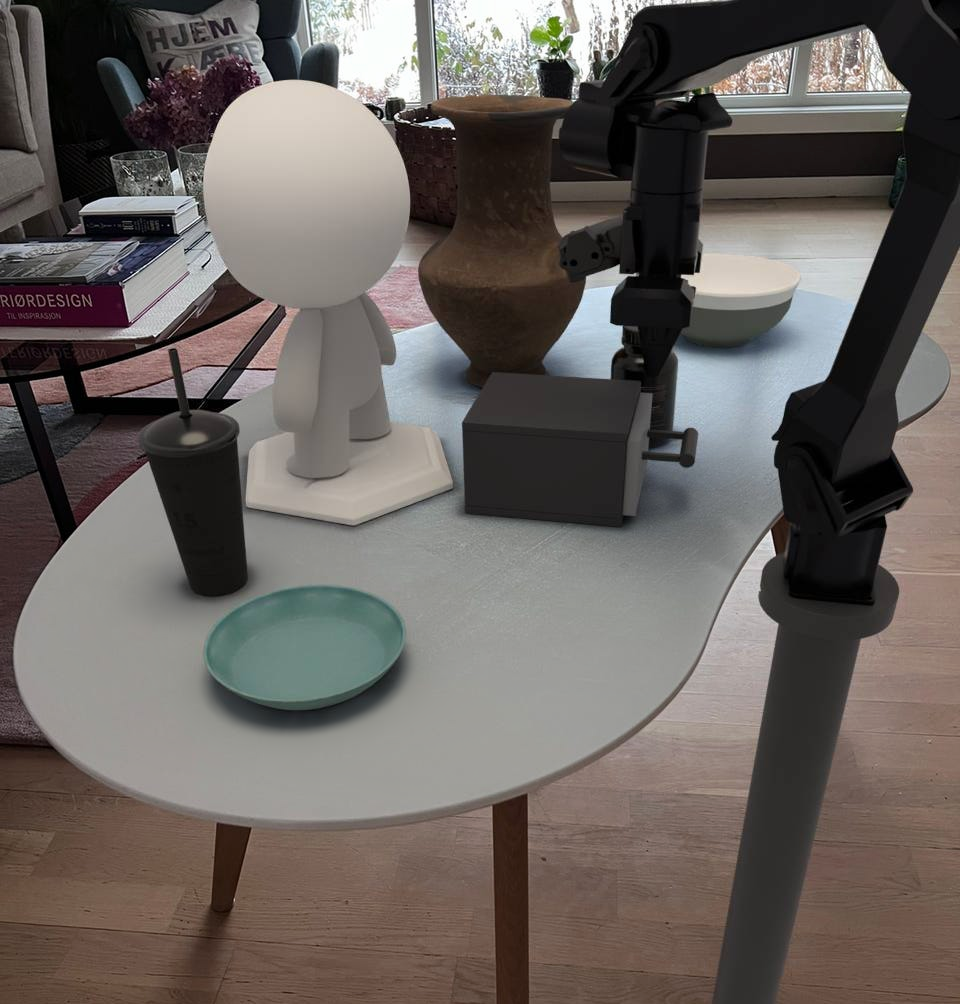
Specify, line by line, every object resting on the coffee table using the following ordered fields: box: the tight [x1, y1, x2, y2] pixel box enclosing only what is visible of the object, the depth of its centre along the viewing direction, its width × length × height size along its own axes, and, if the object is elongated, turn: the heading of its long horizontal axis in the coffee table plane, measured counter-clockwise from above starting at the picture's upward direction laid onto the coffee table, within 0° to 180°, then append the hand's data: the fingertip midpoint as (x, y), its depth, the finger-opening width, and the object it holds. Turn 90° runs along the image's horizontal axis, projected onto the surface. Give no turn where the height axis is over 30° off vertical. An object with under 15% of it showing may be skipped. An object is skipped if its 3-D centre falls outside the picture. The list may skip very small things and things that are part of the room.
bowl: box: [680, 253, 802, 348], centre depth 132 cm, size 19×19×8 cm
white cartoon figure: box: [202, 79, 454, 526], centre depth 93 cm, size 20×23×35 cm
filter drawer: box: [622, 393, 699, 517], centre depth 96 cm, size 18×11×7 cm, turn 77°
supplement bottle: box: [610, 326, 679, 449], centre depth 105 cm, size 7×7×12 cm
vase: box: [417, 93, 587, 388], centre depth 116 cm, size 19×19×30 cm
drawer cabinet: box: [461, 372, 641, 528], centre depth 97 cm, size 15×13×9 cm
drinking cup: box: [137, 347, 249, 597], centre depth 81 cm, size 8×8×20 cm
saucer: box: [202, 584, 407, 711], centre depth 75 cm, size 15×15×3 cm
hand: (652, 375), depth 91 cm, fingers closed
